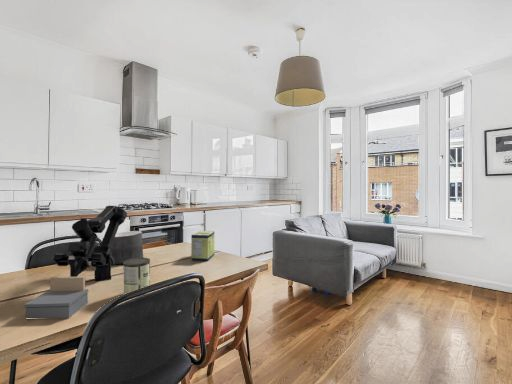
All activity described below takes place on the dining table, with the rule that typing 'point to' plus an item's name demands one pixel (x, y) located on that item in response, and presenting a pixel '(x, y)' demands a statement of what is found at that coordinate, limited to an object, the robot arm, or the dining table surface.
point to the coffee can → (136, 274)
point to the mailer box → (57, 310)
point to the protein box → (202, 245)
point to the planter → (127, 246)
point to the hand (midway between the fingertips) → (71, 279)
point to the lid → (60, 292)
